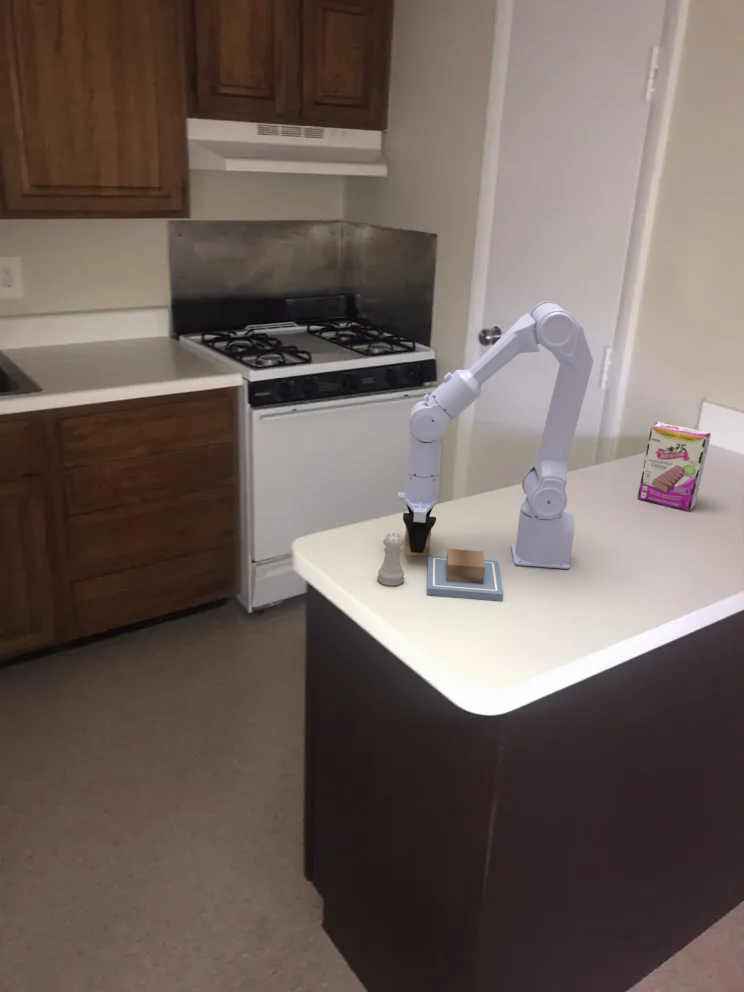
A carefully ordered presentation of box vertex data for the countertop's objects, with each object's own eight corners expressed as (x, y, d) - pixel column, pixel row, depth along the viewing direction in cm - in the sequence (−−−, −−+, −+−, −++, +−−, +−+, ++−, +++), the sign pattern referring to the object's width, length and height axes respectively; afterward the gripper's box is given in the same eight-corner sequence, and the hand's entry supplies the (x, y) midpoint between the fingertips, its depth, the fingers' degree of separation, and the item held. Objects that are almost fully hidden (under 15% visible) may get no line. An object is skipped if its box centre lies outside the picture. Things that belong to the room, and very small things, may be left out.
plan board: (497, 567, 142) (500, 545, 141) (502, 601, 131) (505, 577, 130) (427, 561, 143) (429, 539, 141) (426, 595, 132) (428, 571, 130)
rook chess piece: (401, 588, 133) (404, 543, 130) (374, 585, 134) (377, 540, 131) (406, 576, 137) (409, 532, 135) (380, 572, 138) (382, 529, 135)
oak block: (429, 547, 149) (431, 521, 147) (428, 557, 145) (431, 531, 143) (404, 545, 149) (406, 519, 147) (403, 555, 145) (405, 529, 143)
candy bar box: (636, 500, 175) (649, 425, 169) (642, 493, 179) (656, 420, 173) (690, 513, 170) (706, 437, 164) (696, 505, 174) (711, 431, 168)
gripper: (401, 456, 148) (396, 525, 153) (397, 485, 135) (392, 560, 140) (440, 459, 148) (434, 528, 153) (440, 488, 134) (434, 563, 139)
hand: (417, 543), depth 146 cm, fingers open, 6 cm apart
